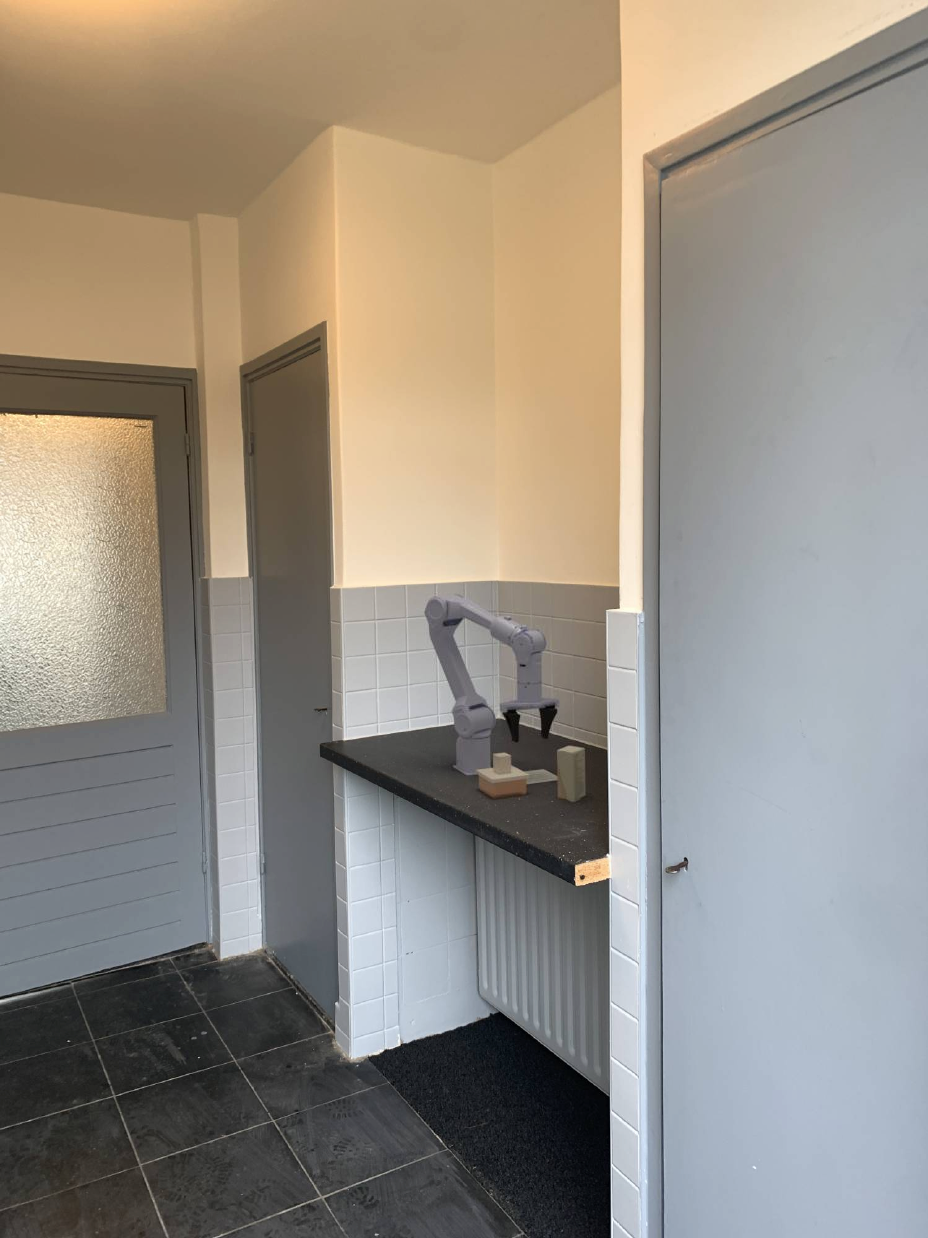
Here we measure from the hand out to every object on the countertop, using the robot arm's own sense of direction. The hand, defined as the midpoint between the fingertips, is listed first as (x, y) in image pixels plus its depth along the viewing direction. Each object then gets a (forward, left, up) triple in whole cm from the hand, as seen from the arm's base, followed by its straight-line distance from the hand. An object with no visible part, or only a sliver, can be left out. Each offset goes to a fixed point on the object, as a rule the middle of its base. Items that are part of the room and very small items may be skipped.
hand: (530, 739), depth 210 cm
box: (+16, +2, -10) cm, 19 cm away
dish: (+6, -10, -10) cm, 15 cm away
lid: (+6, -10, -6) cm, 13 cm away
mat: (-2, +2, -10) cm, 10 cm away
